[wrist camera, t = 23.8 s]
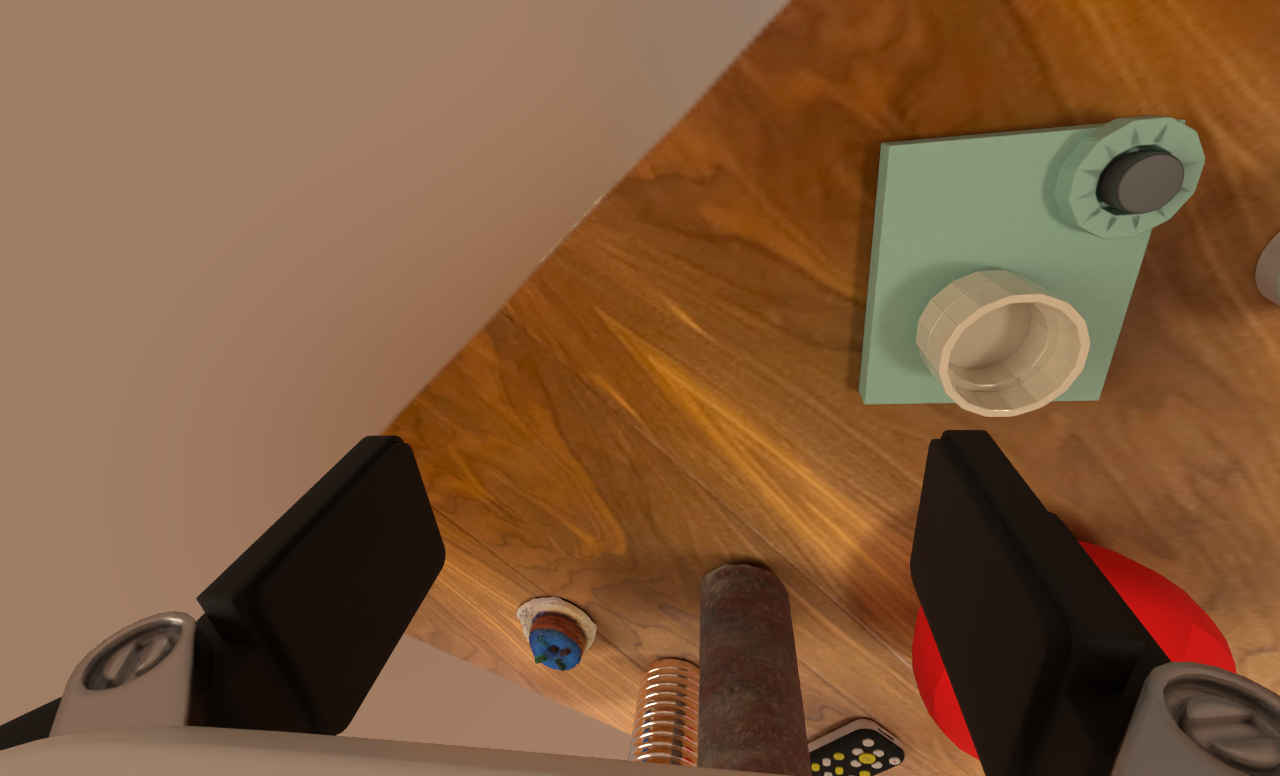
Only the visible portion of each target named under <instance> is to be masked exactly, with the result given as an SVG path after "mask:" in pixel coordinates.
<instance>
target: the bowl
mask: <svg viewBox="0 0 1280 776" xmlns="http://www.w3.org/2000/svg"><path fill="white" fill-rule="evenodd" d="M916 344H917V347H918V350H919V353H920V356H921V359H922V361H923V362H924V364H925V365H926V366H927V368H928V369H929V371H930V372H931V373H932V375H933V376H934V378H935V379H936V380H937V382H938V383H939V385H940V386H941V387H942V389H943V390H944V392H945V393H946V394H947V395H948V396H949V397H950V398H951V399H952V400H953V401H954V402H955V403H957V404H958V405H959V406H960V407H961V408H962V409H964V410H967V411H970V412H973V413H976V414H979V415H982V416H985V417H1011V416H1017V415H1020V414H1023V413H1026V412H1029V411H1032V410H1036V409H1039V408H1041V407H1043V406H1045V405H1046V404H1048V403H1049V402H1051V401H1052V400H1054V399H1055V398H1057V397H1058V396H1060V395H1061V394H1063V393H1064V392H1066V391H1067V390H1068V388H1069V387H1070V386H1071V385H1072V383H1073V382H1074V381H1075V379H1076V378H1077V377H1078V376H1079V374H1080V373H1081V372H1082V371H1083V369H1084V366H1085V363H1086V359H1087V356H1088V352H1089V349H1090V346H1091V345H1090V344H1091V343H1090V338H1089V334H1088V329H1087V324H1086V321H1085V319H1084V318H1083V317H1082V316H1081V315H1080V314H1079V313H1078V312H1077V311H1076V310H1075V309H1074V308H1073V307H1072V306H1071V305H1070V304H1069V303H1068V302H1066V301H1065V300H1063V299H1062V298H1060V297H1058V296H1057V295H1055V294H1054V293H1052V292H1050V291H1049V290H1047V289H1045V288H1044V287H1042V286H1041V285H1039V284H1037V283H1036V282H1034V281H1033V280H1031V279H1029V278H1028V277H1025V276H1022V275H1019V274H1016V273H1013V272H1011V271H1008V270H987V271H978V272H975V273H972V274H970V275H967V276H964V277H962V278H959V279H957V280H954V281H953V282H951V283H950V284H949V285H947V286H946V287H945V288H944V289H943V290H941V291H940V292H939V293H938V294H937V295H935V296H934V297H933V298H932V299H931V300H930V301H929V303H928V305H927V306H926V308H925V310H924V312H923V313H922V315H921V317H920V318H919V321H918V328H917V335H916Z"/></svg>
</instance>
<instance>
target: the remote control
mask: <svg viewBox="0 0 1280 776" xmlns="http://www.w3.org/2000/svg"><path fill="white" fill-rule="evenodd" d="M808 749H809V755H810V762H811V770H812V776H874V775H876V774H878V773H881V772H883V771H885V770H888V769H890V768H892V767H894V766H897V765H899V764H900V763H902V762H903V760H904V757H905V756H904V750H903V746H902V744H901V742H900V741H899V740H898V739H897V738H896V737H895V736H893V735H892V734H890V733H889V732H888V731H886V730H885V729H883V728H882V727H881V726H879V725H878V724H876V723H875V722H873V721H871V720H868V719H858V720H855V721H853V722H851V723H849V724H847V725H845V726H843V727H841V728H839V729H837V730H835V731H832V732H830V733H828V734H826V735H824V736H822V737H820V738H818V739H816V740H814V741H812V742H810V743H808Z"/></svg>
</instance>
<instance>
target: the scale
mask: <svg viewBox="0 0 1280 776" xmlns="http://www.w3.org/2000/svg"><path fill="white" fill-rule="evenodd" d="M1185 122H1186V120H1183V119H1174V118H1172V117H1165V116H1138V117H1127V118H1117V119H1114V120H1113V121H1111V122H1109V123H1099V124H1088V125H1076V126H1065V127H1054V128H1043V129H1031V130H1020V131H1009V132H998V133H986V134H975V135H964V136H952V137H941V138H930V139H919V140H907V141H896V142H885V143H881V152H880V163H879V174H878V185H877V196H876V207H875V218H874V229H873V240H872V251H871V262H870V273H869V284H868V295H867V306H866V317H865V328H864V339H863V350H862V361H861V372H860V383H859V393H860V395H861V397H862V400H863V402H864V404H915V403H955V402H954V401H953V400H952V399H951V398H950V397H949V396H948V395H947V394H946V393H945V392H944V390H943V389H942V387H941V386H940V385H939V383H938V382H937V380H936V379H935V378H934V376H933V375H932V373H931V372H930V371H929V369H928V368H927V366H926V365H925V364H924V362H923V361H922V359H921V356H920V353H919V350H918V347H917V344H916V335H917V328H918V321H919V318H920V317H921V315H922V313H923V312H924V310H925V308H926V306H927V305H928V303H929V301H930V300H931V299H932V298H933V297H934V296H935V295H937V294H938V293H939V292H940V291H941V290H943V289H944V288H945V287H946V286H947V285H949V284H950V283H951V282H953V281H954V280H957V279H959V278H962V277H964V276H967V275H970V274H972V273H975V272H978V271H987V270H1008V271H1011V272H1013V273H1016V274H1019V275H1022V276H1025V277H1028V278H1029V279H1031V280H1033V281H1034V282H1036V283H1037V284H1039V285H1041V286H1042V287H1044V288H1045V289H1047V290H1049V291H1050V292H1052V293H1054V294H1055V295H1057V296H1058V297H1060V298H1062V299H1063V300H1065V301H1066V302H1068V303H1069V304H1070V305H1071V306H1072V307H1073V308H1074V309H1075V310H1076V311H1077V312H1078V313H1079V314H1080V315H1081V316H1082V317H1083V318H1084V319H1085V321H1086V324H1087V329H1088V334H1089V338H1090V343H1091V344H1090V345H1091V346H1090V349H1089V352H1088V356H1087V359H1086V363H1085V366H1084V369H1083V371H1082V372H1081V373H1080V374H1079V376H1078V377H1077V378H1076V379H1075V381H1074V382H1073V383H1072V385H1071V386H1070V387H1069V388H1068V390H1067V391H1066V392H1064V393H1063V394H1061V395H1060V396H1058V397H1057V398H1055V399H1054V400H1052V401H1093V400H1099V398H1100V395H1101V392H1102V388H1103V385H1104V382H1105V379H1106V376H1107V372H1108V369H1109V366H1110V363H1111V360H1112V356H1113V353H1114V350H1115V347H1116V343H1117V340H1118V337H1119V334H1120V331H1121V327H1122V324H1123V321H1124V318H1125V315H1126V311H1127V308H1128V305H1129V302H1130V299H1131V295H1132V292H1133V289H1134V286H1135V282H1136V279H1137V276H1138V273H1139V270H1140V266H1141V263H1142V260H1143V257H1144V254H1145V250H1146V247H1147V244H1148V241H1149V238H1150V234H1151V231H1152V228H1154V227H1156V226H1158V225H1160V224H1162V223H1164V222H1166V221H1167V220H1169V219H1170V218H1171V217H1172V216H1173V215H1174V214H1175V213H1176V212H1177V211H1178V210H1179V209H1180V208H1181V207H1182V206H1183V204H1184V203H1185V202H1186V201H1187V200H1188V199H1189V198H1190V197H1191V196H1192V195H1193V194H1194V192H1195V190H1196V187H1197V184H1198V181H1199V178H1200V175H1201V172H1202V169H1203V166H1204V163H1205V156H1204V153H1203V149H1202V146H1201V143H1200V139H1199V136H1198V133H1197V132H1196V131H1195V130H1194V129H1192V128H1190V127H1188V126H1186V125H1185ZM1140 150H1146V151H1153V152H1160V153H1167V154H1171V155H1173V156H1175V157H1176V158H1178V159H1179V160H1180V162H1181V163H1182V165H1183V168H1184V180H1183V183H1182V186H1181V188H1180V189H1179V191H1178V192H1177V194H1176V195H1175V196H1174V197H1173V198H1172V199H1171V200H1170V201H1169V202H1168V203H1167V204H1165V205H1164V206H1162V207H1161V208H1159V209H1157V210H1155V211H1152V212H1148V213H1144V214H1133V213H1129V212H1126V211H1123V210H1119V209H1116V208H1113V207H1111V206H1109V205H1107V204H1106V203H1105V202H1104V201H1103V199H1102V197H1101V194H1100V183H1101V180H1102V177H1103V175H1104V173H1105V172H1106V170H1107V169H1108V168H1109V167H1110V165H1111V164H1112V163H1114V162H1115V161H1116V160H1117V159H1119V158H1120V157H1122V156H1124V155H1126V154H1128V153H1131V152H1134V151H1140Z"/></svg>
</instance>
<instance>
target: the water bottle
mask: <svg viewBox="0 0 1280 776" xmlns="http://www.w3.org/2000/svg"><path fill="white" fill-rule="evenodd" d="M699 679H700V669H699V668H698V667H696V666H695V665H693V664H691V663H689V662H687V661H684V660H680V659H661V660H657V661H655V662H653V663H651V664H650V665H648V666H647V667H646V669H645V670H644V672H643V674H642V677H641V681H640V685H639V693H638V698H637V705H636V712H635V720H634V725H633V732H632V740H631V746H630V753H629V761H638V762H649V763H660V764H671V765H682V766H693V767H697V758H698V713H699Z"/></svg>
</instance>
